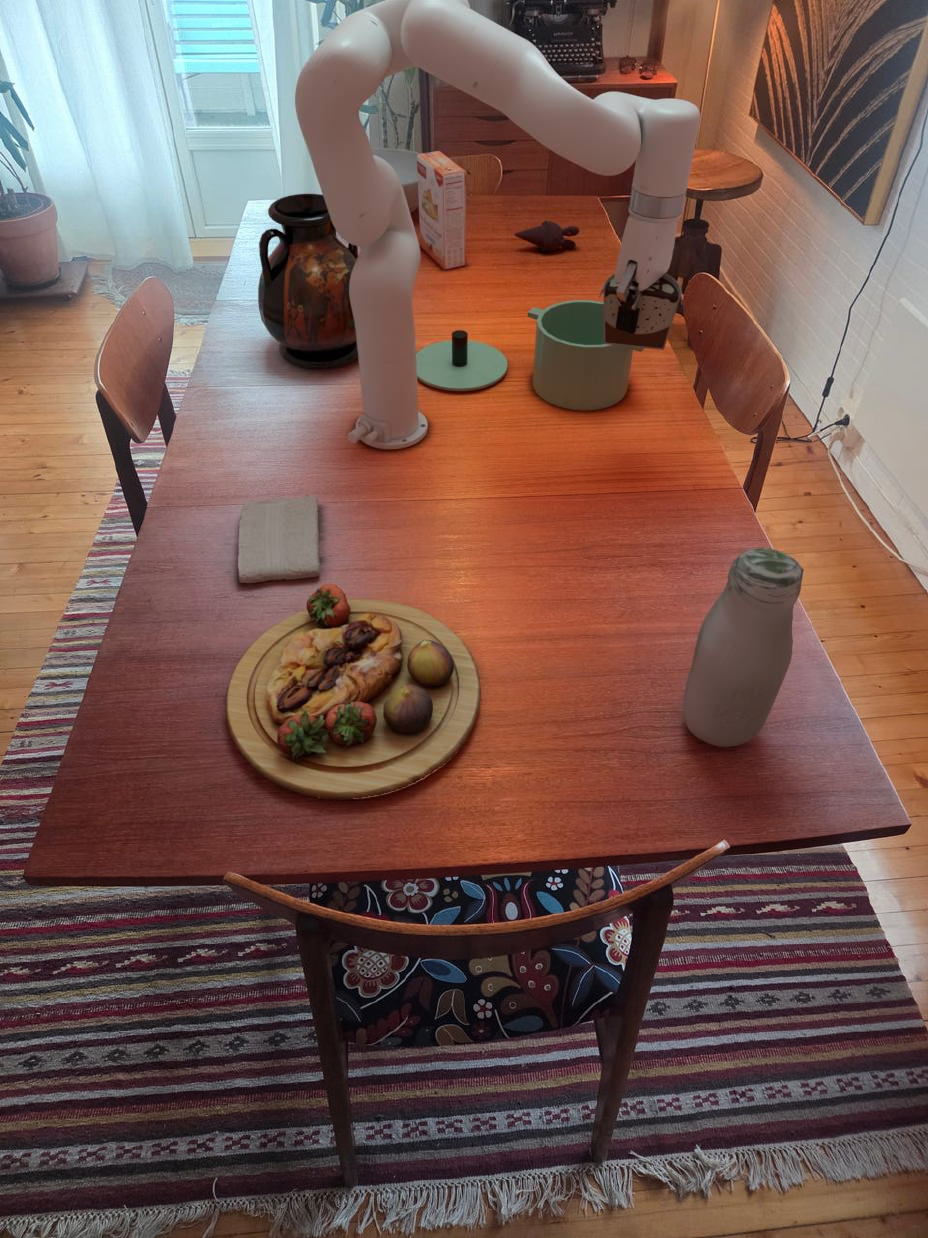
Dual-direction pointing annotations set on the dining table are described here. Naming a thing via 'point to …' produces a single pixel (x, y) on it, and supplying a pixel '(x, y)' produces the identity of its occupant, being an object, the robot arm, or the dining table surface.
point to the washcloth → (279, 540)
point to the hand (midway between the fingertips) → (636, 320)
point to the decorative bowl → (403, 171)
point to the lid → (460, 364)
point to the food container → (643, 313)
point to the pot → (578, 357)
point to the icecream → (549, 236)
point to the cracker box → (442, 209)
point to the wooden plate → (352, 697)
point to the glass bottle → (743, 649)
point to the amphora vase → (307, 285)
